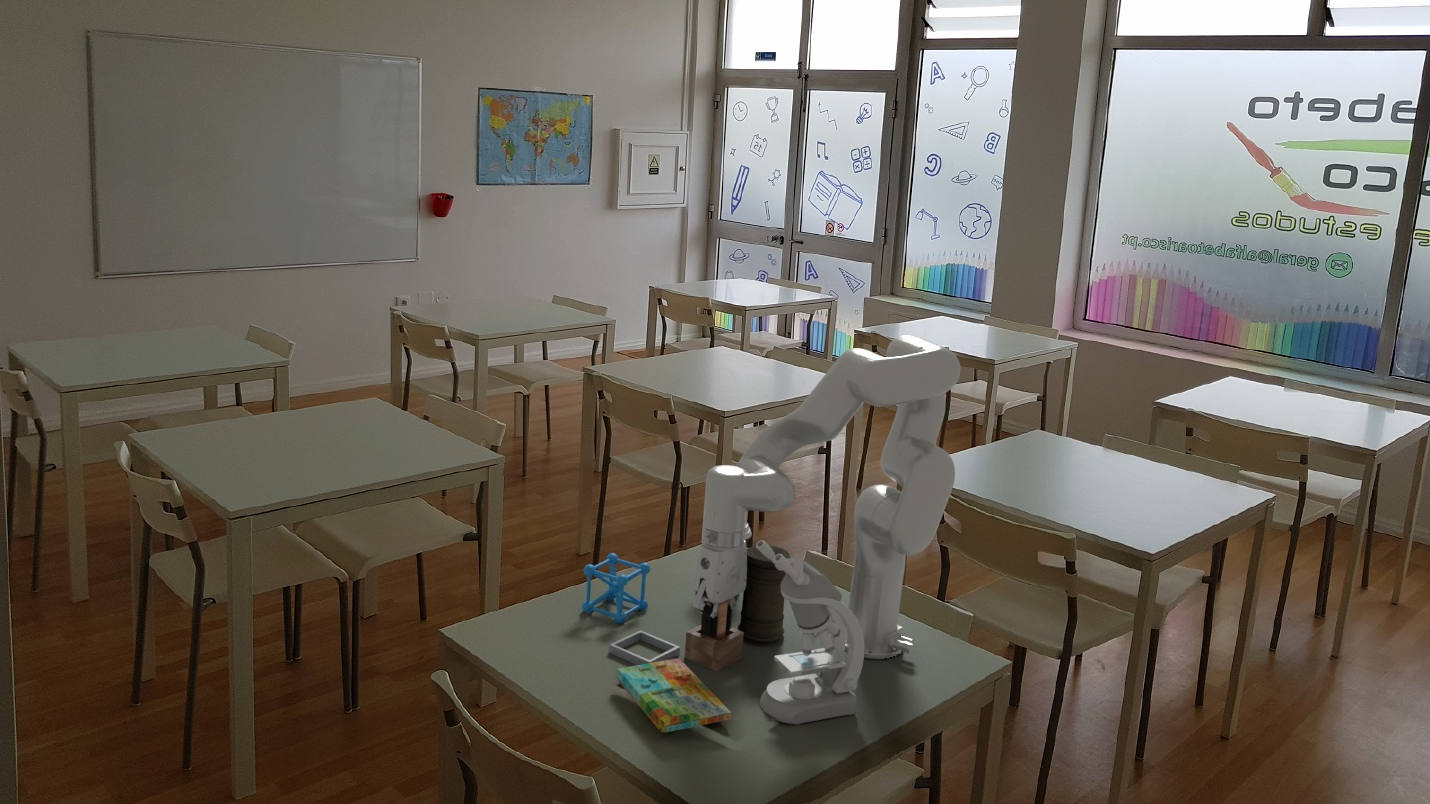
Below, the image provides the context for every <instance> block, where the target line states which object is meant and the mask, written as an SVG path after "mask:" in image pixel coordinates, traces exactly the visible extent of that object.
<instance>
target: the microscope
mask: <svg viewBox="0 0 1430 804" xmlns="http://www.w3.org/2000/svg"><path fill="white" fill-rule="evenodd" d="M755 546H756V548H757V549H758V550H759V551H760V552H761V553H762V554H763V555H764V556H765V557H767V558H768V559H770V560H771V561H772V562H773V563H774V564H775V567H776V568H777V569H778V570H783V571H785V573H787V574H786V575H785V577H784V578H783V580H782V582H781V585H780V588H781V593H782V596H783V597H784V600H785V601H788V602H789V605H790V607H791V609H792V613H793V616H794V619H795V621H796V624H797V627H798V629H799V631H801V632H802V640H801V643H802V647H801V648H802V649H801V651H797V652H792V653H784V654H778V655H774V658H773V660H774V661H775V662H776V663H777V666H778V667H779V668H780V669H781V670H782V671H783V672H785V673H788V674H789V675H790V676H792V677H786V678H785V677H784V678H780V679H776V680H773V681H771V682H770V683H768V685H767V686H766V689H765V690H764V691H763V692H762V694H761V695H760V698H759V699H760V700H759V705H760V707H761V710H763V711H764V712H765V713H766V714H767V715H769V716H771V717H772V719H773V720H775V721H778V722H780V723H784V724H787V725H788V724H789V725H796V726H799V725H801V724H805V723H809V722H815V721H820V720H825V719H831V718H837V717H841V716H842V717H843V716H848V715H849V716H853V715H854V714H855V713H856V710H857V702H858V699H857V698H858V697H857V695H856V693H854V692H853V691H854V690H857V688H858V681H859V678H860V675H861V672H862V668H863V666H864V665H863V664H864V660H865V659H864V638H863V633H862V630H861V627H860V625H859V623H858V621H857V619H856V617H855V616H854V614H853V613H852V611H851V610H850V609H849V606H847V604H845V603H844V602H842V599H843V593H841V592H840V590H839V589H838V588H837V587H836V586H835V585H834V584H833V583H832V582H831V580H829V578H828V577H827V576H826V575H824V574H823V573H822V572H820V571H819V570H817V569H816V568H815V567H813V566H812V565H811V564H810V563H808V562H807V561H806V560H803V559H802V558H801V557H799V556H793V557H790V558H787V559H786V558H785V557H784V556H783V555H782V554H777V555H775V553H774V552H773V550H772V549H771V547H770V546H771V545H770V546H769V544H768V543H767V542H766V541H765V540H764V539H763V540H762V539H760V540H758V541H757V542H756V545H755ZM846 630H847V633H848V637H849V650H848V652H847V655H846V657H845V660H843V657H844V653H845V644H846ZM816 638H818V640H819V642H820V644H821V645H822V646H823V648H817V649H815V648H814V649H812V648H813V645H814V640H815V639H816ZM795 675H798V676H795Z"/></svg>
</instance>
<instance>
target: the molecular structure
mask: <svg viewBox="0 0 1430 804" xmlns="http://www.w3.org/2000/svg"><path fill="white" fill-rule="evenodd" d="M617 563H618V564H621V565H625V566H628V567H632V568H634V569H637V570H635V571H633V572H631V573H629V574H628V575H626V574H619V575H617V570H616V564H617ZM608 564H609V573H605V572H603V571H599V570H598V569H599V568H601V567H603V566H605V565H608ZM650 572H651V565H650V564H649V563H647V562H641V563H640V564H637V563H633V562H630V561H627V560H623V559H620V558H619V556H618V555H617V554H616V553H614V552H610V553H609V554H608V555H607V556H606V559H605V560H604V561H602V562H599V563H598V564H595V565H593V564H591V563H590V564H587V565H585V566H584V568H583V573H584V575H585V576H587V577H586V597H585V598H586V599H585V600H584V602H582V604H581V609H582V611H583V612H584V613H587V614H588V613H589V612H590V613H592V611H593V612H596V613H599V614H602V615H606V616H608V617H611V618H613V620H614V622H615V623H616V624H623V623H625V622H626V619H627V617H628V616H629V615H630V614H632V613H634V612H635V611H637V610H639V611H642V610H643V611H646V610H647V608H648V605H649V604H648V601H647V599H645V593H646V591H645V590H646V578H647V575H648V574H649V573H650ZM640 574H641V588H640V598H639V599H637V597H635V596H633V595H631V594H630V593H628V592H627V591H625V590H624V589H625V588H624V587H625V586H627V585H628V583H629V582H630V581H632V580H633V579H634V578H636V577H637V576H640ZM593 576H594V577H595V578H597V579H599V580H601V581H602V582H603V583H605V584H606V585H608V589H606V590H605V592H604V593H603V594H601V595H600V596H599V597H597V598H596V599H594V600H593V601H591V588H592V587H591V586H592V577H593ZM605 600H607V601H613V600H615V604H616V612H615V613H613V612H611V611H608V610H605V609H601V608H598V607H596V605H597V604H599V603H601V602H603V601H605ZM623 602H626V603H630V604H633V605H635V606H633V607H632V608H631V609H628V610H627V611H625V612H624V611H623V606H624V603H623Z"/></svg>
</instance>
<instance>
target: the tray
mask: <svg viewBox="0 0 1430 804" xmlns="http://www.w3.org/2000/svg"><path fill="white" fill-rule="evenodd" d="M639 641H642V642H643V643H647V644H649V645H651V646H653V647H656V648H658V649H661V650H663V651H664V652H663V653H661V654H658V655H657V656H655V657H653V658H651V659H648V658H646V657H643V656H641V655H638V654H636V653H634V652H631V651H630V650H627V649H624V648H626V647H628V646H630V645H633V644H635V643H637V642H639ZM608 649H609V650H608V653H609V654H611V655H613V656H616V657H618V658H620V659H622V660H625V661H627V662H630V663H631V664H634V665H635V666H636V665H642V664H648V663H654V662H659V661H665V660H671V659H675V658H676V657H678V656H680V653H681V647H680V646H679V645H677V644H674V643H672V642H670V641H667V640H664V639H663V638H660V637H657V636H655V635H652V634H650V633H648V632H646V631H644V630H641V629H640V630H638V631H636V632H634V633H632V634H630V635H626V636H624V637H622V638H621V639H618V640H616V641H615V642H612V643H610V644H609V647H608Z"/></svg>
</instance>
